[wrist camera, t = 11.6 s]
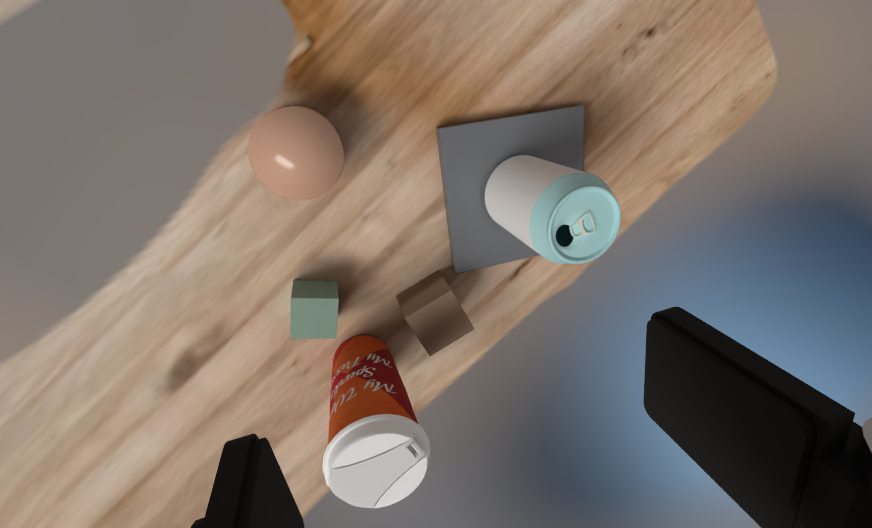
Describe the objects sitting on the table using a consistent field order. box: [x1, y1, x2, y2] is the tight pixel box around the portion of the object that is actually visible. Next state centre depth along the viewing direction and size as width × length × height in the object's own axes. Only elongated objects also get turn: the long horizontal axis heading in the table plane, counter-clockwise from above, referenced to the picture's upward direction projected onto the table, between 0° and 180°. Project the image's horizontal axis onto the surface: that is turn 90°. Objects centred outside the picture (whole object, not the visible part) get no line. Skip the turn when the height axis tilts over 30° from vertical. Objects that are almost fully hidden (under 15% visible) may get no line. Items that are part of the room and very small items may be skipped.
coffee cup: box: [323, 335, 430, 508], centre depth 39 cm, size 8×8×15 cm
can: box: [485, 155, 621, 264], centre depth 36 cm, size 7×7×12 cm
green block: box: [290, 280, 339, 339], centre depth 40 cm, size 4×4×4 cm
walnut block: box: [396, 271, 474, 356], centre depth 43 cm, size 5×5×5 cm
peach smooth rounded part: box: [248, 105, 344, 200], centre depth 35 cm, size 7×7×4 cm
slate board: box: [436, 105, 584, 274], centre depth 42 cm, size 14×14×1 cm
